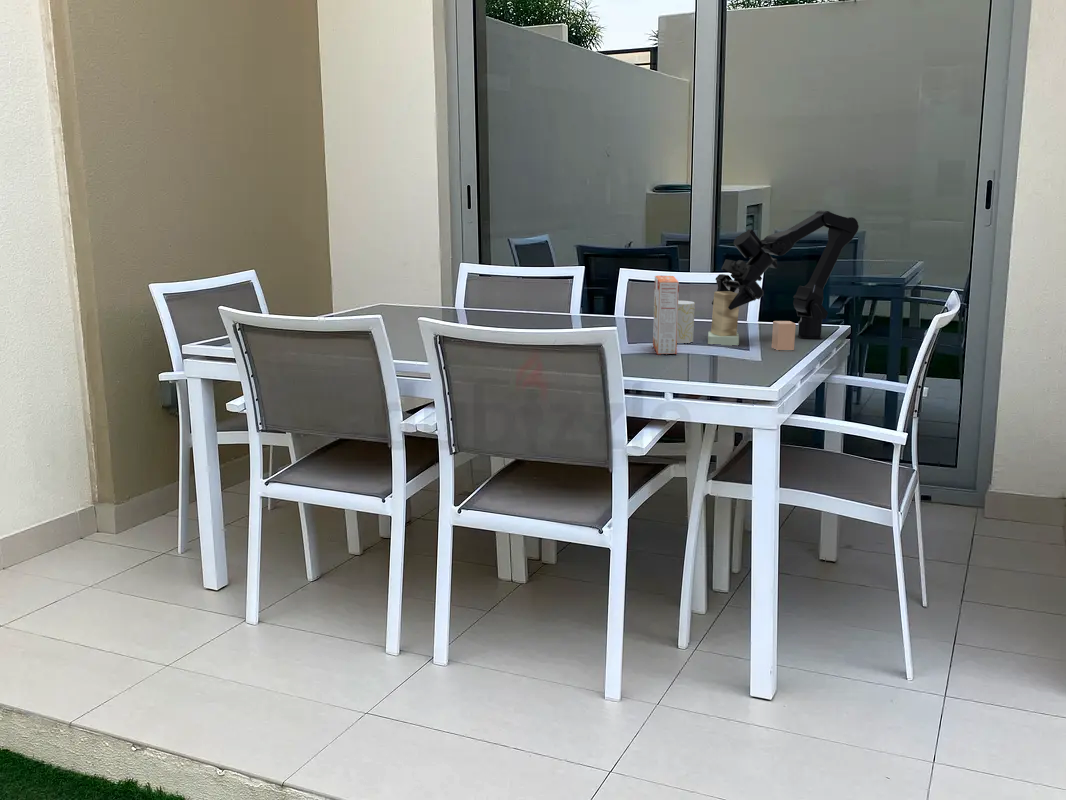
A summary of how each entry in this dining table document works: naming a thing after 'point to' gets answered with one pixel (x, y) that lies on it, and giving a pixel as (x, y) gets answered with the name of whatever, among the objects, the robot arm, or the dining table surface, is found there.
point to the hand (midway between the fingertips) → (720, 306)
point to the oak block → (724, 314)
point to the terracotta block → (783, 335)
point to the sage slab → (723, 339)
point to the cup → (685, 321)
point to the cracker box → (665, 314)
